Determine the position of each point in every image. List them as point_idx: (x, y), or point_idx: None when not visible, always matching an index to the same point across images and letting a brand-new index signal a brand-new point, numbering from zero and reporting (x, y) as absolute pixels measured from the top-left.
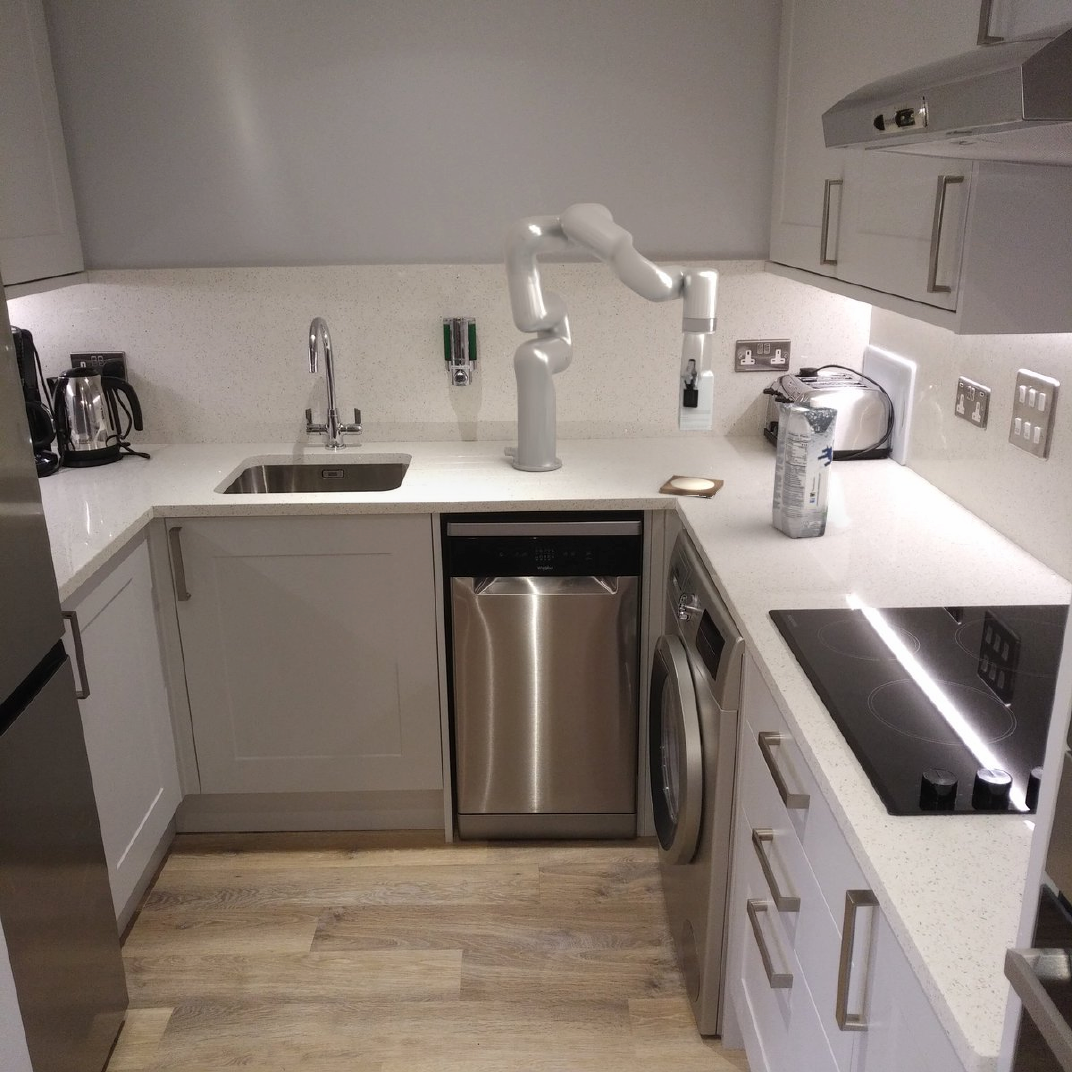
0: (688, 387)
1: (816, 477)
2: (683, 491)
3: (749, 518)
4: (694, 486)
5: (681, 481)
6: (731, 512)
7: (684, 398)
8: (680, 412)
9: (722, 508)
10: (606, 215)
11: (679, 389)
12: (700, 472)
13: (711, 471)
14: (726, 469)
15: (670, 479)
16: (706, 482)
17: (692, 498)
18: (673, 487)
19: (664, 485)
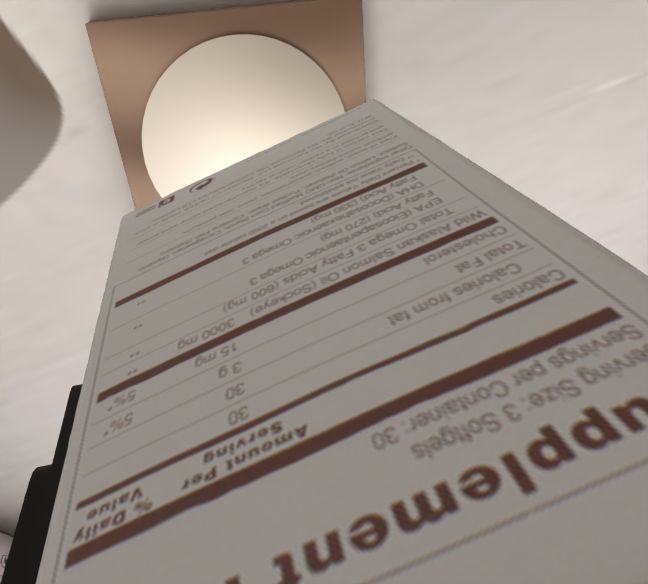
0: None
1: None
2: (120, 151)
3: (5, 447)
4: (204, 175)
5: (256, 86)
6: (28, 383)
7: (60, 471)
8: (102, 301)
9: (53, 342)
10: None
11: (490, 254)
12: (528, 67)
13: (554, 106)
14: (597, 151)
15: (274, 12)
16: None
17: (107, 197)
18: (139, 87)
19: (146, 27)
